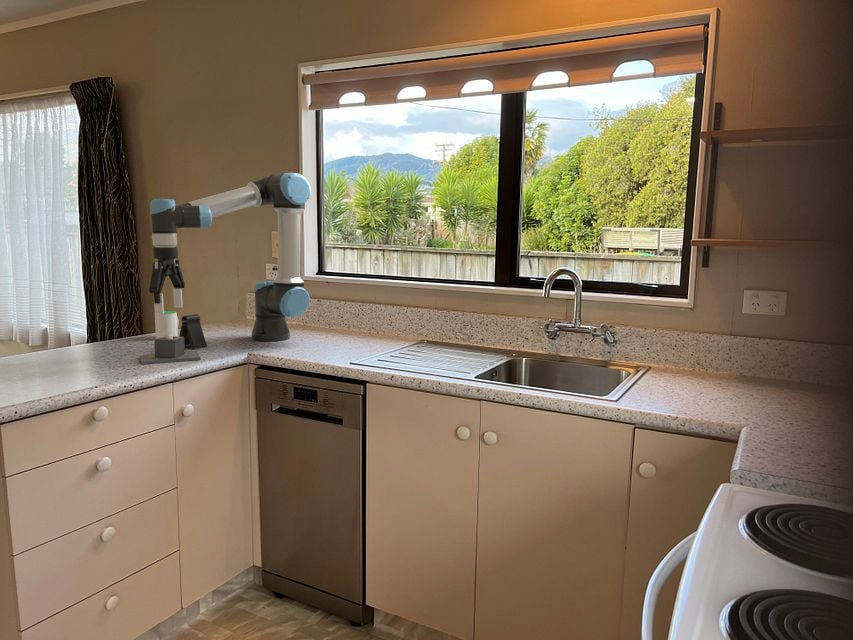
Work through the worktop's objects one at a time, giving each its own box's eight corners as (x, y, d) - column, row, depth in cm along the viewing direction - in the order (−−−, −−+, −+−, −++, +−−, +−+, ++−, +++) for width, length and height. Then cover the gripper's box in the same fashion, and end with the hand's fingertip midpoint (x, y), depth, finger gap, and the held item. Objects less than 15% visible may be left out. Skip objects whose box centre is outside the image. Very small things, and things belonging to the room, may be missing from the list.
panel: (196, 353, 222) (195, 331, 221) (200, 360, 212) (199, 336, 210) (140, 357, 214) (139, 334, 213) (141, 364, 204) (140, 340, 202)
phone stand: (207, 347, 234) (205, 315, 233) (194, 349, 229) (193, 317, 227) (189, 344, 238) (188, 313, 237) (176, 347, 233) (175, 315, 231)
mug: (166, 334, 259) (165, 309, 257) (185, 335, 258) (184, 310, 256) (151, 339, 247) (150, 313, 245) (171, 340, 246) (170, 314, 245)
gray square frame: (184, 354, 216) (184, 335, 215) (175, 357, 209) (174, 339, 208) (164, 353, 216) (164, 335, 216) (154, 356, 210) (154, 338, 209)
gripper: (171, 244, 220) (175, 305, 223) (134, 248, 195) (139, 315, 199) (192, 244, 219) (195, 305, 223) (157, 248, 195) (162, 316, 198)
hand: (169, 310), depth 211 cm, fingers open, 13 cm apart
